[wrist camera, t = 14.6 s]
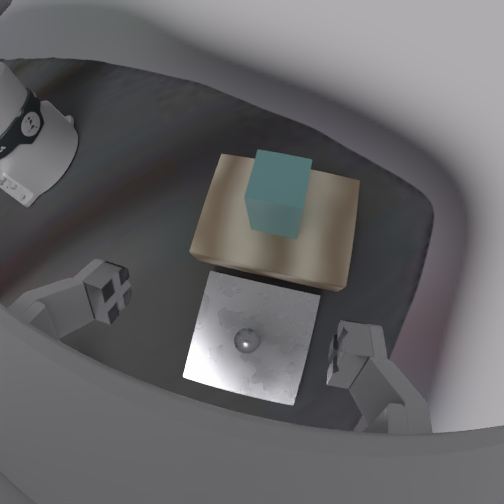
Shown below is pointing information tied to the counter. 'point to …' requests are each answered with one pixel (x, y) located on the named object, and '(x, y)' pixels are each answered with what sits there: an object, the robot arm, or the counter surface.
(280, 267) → the riser block
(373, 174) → the counter surface
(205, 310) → the post stand
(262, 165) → the teal square-faced block
